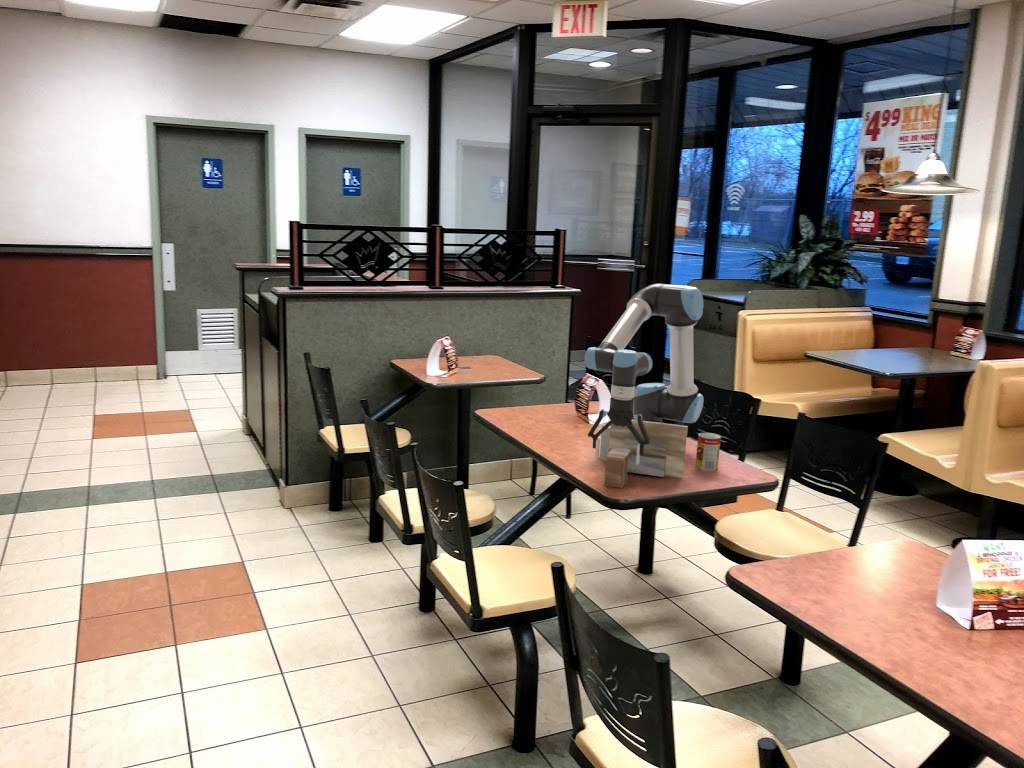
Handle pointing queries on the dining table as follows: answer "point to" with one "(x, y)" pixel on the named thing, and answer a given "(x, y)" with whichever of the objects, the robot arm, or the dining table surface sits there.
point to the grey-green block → (604, 442)
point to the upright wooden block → (617, 467)
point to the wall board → (653, 448)
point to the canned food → (708, 451)
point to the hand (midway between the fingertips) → (616, 461)
